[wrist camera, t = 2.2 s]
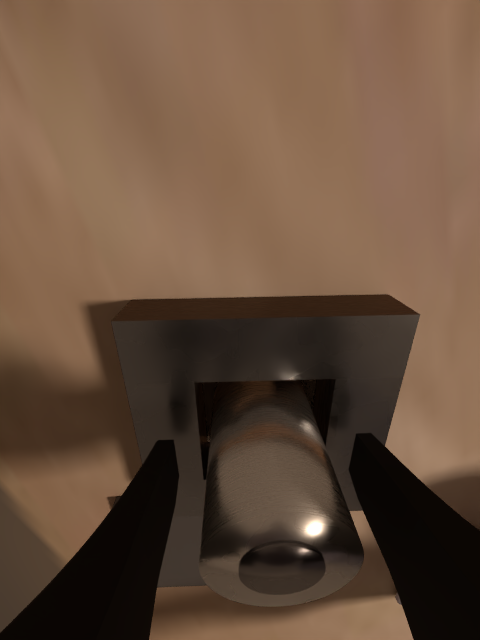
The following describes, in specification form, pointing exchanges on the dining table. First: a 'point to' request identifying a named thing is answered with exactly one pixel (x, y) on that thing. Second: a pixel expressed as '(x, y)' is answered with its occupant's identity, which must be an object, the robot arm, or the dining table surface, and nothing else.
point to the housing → (262, 369)
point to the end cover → (273, 501)
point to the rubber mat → (182, 553)
